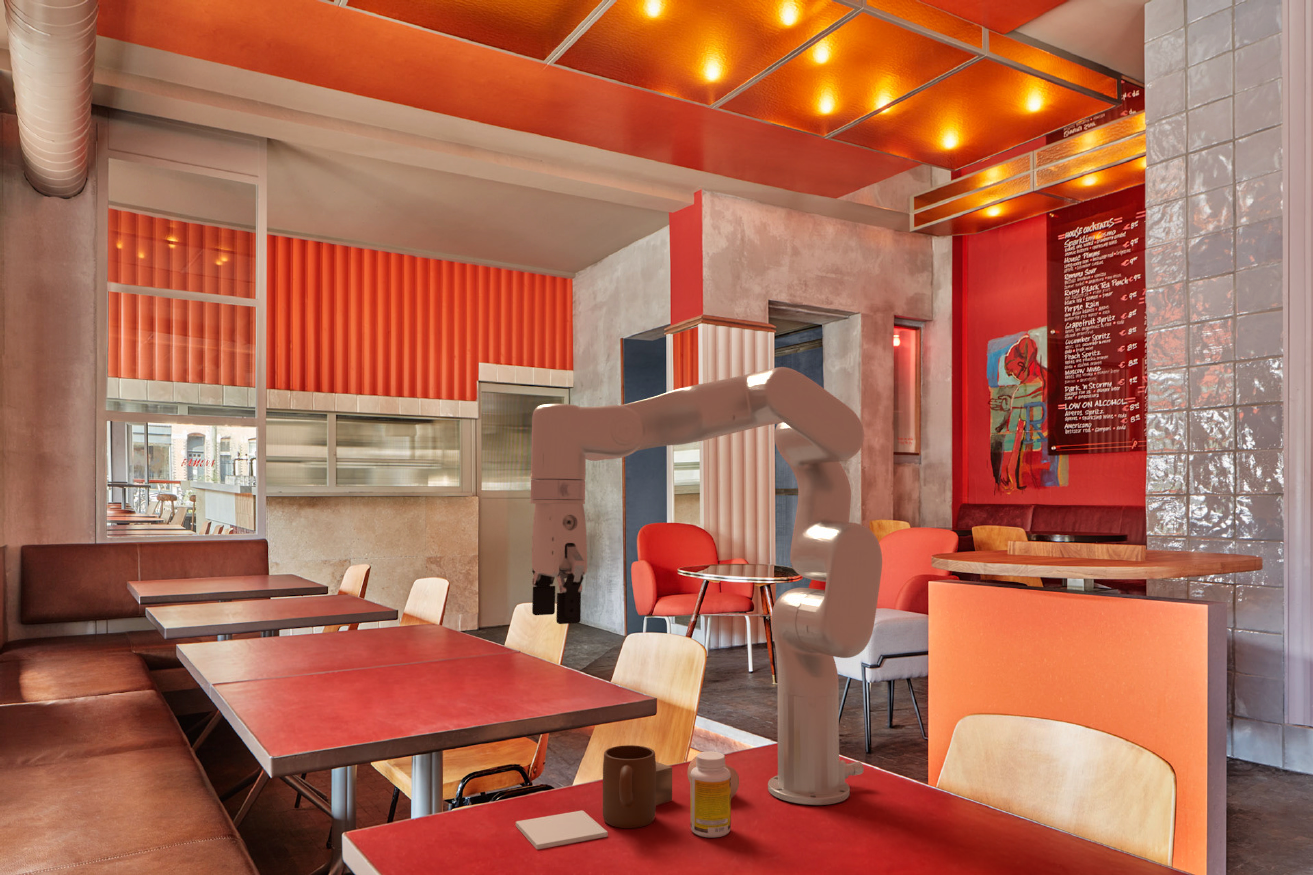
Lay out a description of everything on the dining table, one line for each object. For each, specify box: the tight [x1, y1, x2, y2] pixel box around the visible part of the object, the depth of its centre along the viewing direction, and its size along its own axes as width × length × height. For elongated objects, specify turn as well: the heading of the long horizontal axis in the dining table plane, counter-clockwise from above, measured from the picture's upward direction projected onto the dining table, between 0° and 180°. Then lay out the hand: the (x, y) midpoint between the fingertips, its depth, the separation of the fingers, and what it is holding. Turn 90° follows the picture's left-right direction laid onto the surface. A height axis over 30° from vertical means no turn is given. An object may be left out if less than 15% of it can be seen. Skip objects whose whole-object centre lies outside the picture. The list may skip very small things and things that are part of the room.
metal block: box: [656, 761, 673, 806], centre depth 129 cm, size 5×5×5 cm
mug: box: [602, 744, 657, 829], centre depth 119 cm, size 12×8×9 cm, turn 178°
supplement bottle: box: [689, 751, 732, 839], centre depth 117 cm, size 6×6×10 cm
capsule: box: [686, 755, 740, 799], centre depth 132 cm, size 5×7×5 cm
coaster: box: [515, 810, 608, 850], centre depth 116 cm, size 10×9×1 cm
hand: (555, 618), depth 115 cm, fingers open, 9 cm apart
